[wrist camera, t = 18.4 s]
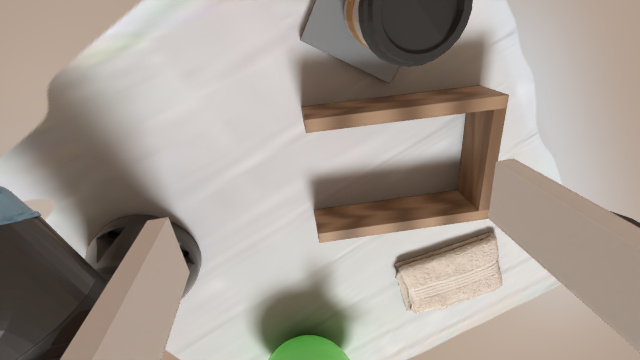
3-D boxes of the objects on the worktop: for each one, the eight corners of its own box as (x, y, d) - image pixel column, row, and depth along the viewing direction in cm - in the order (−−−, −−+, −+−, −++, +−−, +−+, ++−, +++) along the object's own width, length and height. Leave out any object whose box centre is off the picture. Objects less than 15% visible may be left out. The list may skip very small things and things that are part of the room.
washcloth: (389, 262, 55) (394, 275, 52) (491, 226, 54) (502, 238, 51) (404, 307, 60) (410, 321, 57) (497, 276, 59) (507, 288, 56)
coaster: (300, 39, 37) (300, 40, 37) (345, -77, 33) (347, -80, 32) (387, 82, 41) (390, 83, 40) (439, -19, 36) (443, -20, 35)
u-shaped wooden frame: (315, 218, 49) (319, 242, 43) (301, 106, 41) (304, 120, 36) (465, 197, 50) (487, 218, 44) (480, 85, 42) (508, 94, 37)
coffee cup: (376, -52, 33) (438, -100, 20) (421, 13, 37) (501, 10, 23) (318, 10, 35) (340, 5, 22) (366, 67, 39) (410, 93, 25)
